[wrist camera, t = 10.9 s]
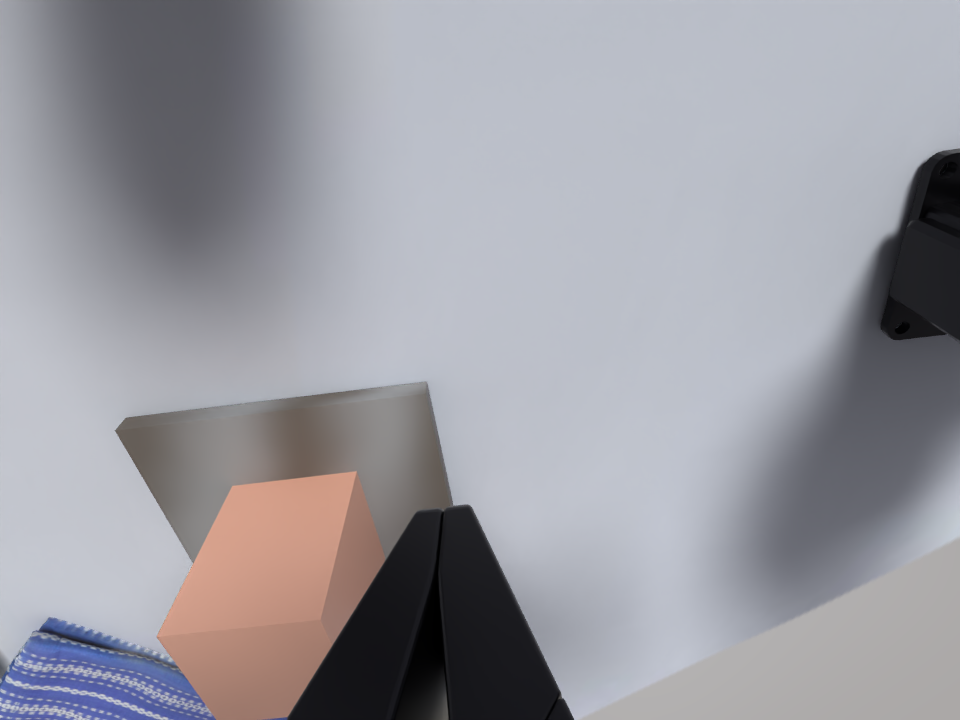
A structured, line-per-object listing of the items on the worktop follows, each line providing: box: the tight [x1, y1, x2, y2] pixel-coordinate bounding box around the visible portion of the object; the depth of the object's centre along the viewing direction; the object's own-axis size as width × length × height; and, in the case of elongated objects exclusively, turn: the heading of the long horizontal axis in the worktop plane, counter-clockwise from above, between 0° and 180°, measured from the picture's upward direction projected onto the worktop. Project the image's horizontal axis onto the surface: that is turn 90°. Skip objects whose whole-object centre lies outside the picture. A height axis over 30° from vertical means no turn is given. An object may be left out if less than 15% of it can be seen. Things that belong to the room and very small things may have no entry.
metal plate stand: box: [115, 382, 453, 563], centre depth 22 cm, size 12×12×6 cm
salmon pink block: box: [157, 471, 385, 720], centre depth 22 cm, size 5×5×7 cm
